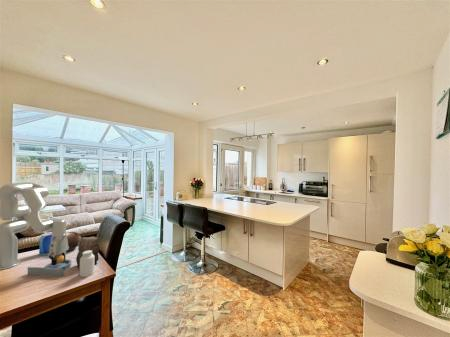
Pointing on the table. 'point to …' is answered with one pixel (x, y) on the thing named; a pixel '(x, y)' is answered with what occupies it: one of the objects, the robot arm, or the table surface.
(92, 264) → the pill bottle
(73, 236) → the wooden sphere
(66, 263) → the bowl
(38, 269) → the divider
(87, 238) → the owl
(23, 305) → the table surface
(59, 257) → the ball
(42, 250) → the beer can
